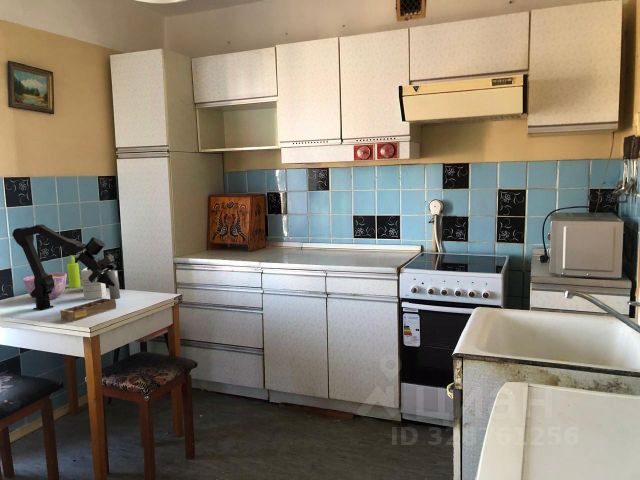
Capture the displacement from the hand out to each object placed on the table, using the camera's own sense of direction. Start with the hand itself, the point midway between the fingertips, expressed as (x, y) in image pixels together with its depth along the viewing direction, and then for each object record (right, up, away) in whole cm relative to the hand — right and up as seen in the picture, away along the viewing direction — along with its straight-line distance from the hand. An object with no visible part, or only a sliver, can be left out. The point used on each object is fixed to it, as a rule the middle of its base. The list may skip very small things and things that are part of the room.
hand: (116, 284), depth 242 cm
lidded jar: (-29, -6, +40) cm, 49 cm away
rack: (-7, -12, -12) cm, 18 cm away
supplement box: (-19, -8, +20) cm, 29 cm away
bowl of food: (-45, -9, +24) cm, 51 cm away
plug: (-1, -7, +1) cm, 7 cm away
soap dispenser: (-43, -6, +50) cm, 67 cm away
